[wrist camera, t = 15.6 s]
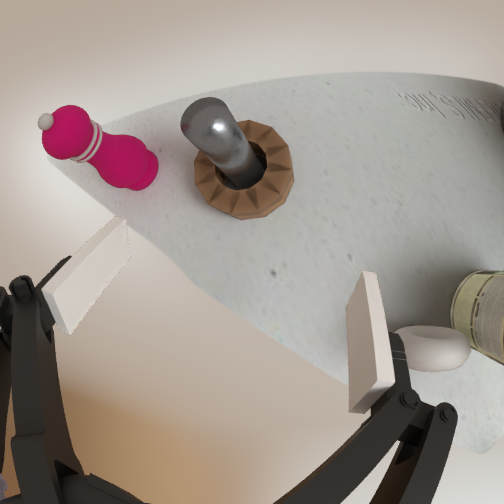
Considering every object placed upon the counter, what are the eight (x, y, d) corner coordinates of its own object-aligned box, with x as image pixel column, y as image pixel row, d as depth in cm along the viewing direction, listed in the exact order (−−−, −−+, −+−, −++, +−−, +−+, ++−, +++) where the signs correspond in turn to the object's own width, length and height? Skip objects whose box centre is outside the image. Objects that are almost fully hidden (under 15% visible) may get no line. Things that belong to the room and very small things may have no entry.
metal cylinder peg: (263, 159, 36) (227, 92, 21) (266, 188, 36) (230, 135, 20) (233, 164, 37) (180, 104, 22) (235, 193, 37) (180, 146, 21)
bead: (287, 130, 36) (283, 114, 32) (298, 213, 35) (295, 205, 31) (206, 144, 38) (193, 131, 34) (210, 224, 37) (196, 218, 33)
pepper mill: (156, 139, 40) (65, 73, 20) (166, 181, 39) (63, 127, 20) (118, 160, 41) (22, 112, 22) (125, 201, 41) (18, 166, 21)
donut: (377, 350, 32) (396, 379, 23) (380, 322, 32) (402, 343, 23) (447, 348, 30) (483, 372, 20) (451, 322, 30) (489, 338, 21)
